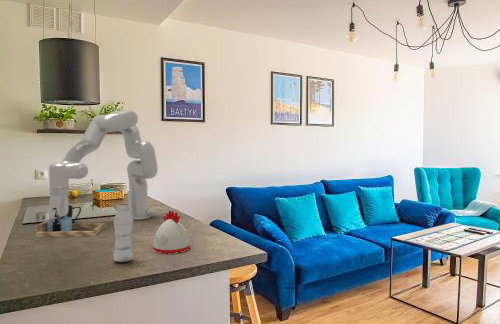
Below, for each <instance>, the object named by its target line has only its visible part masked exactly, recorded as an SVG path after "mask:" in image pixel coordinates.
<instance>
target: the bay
mask: <svg viewBox="0 0 500 324" xmlns="http://www.w3.org/2000/svg"><path fill="white" fill-rule="evenodd" d="M106 228H107V223H106V222H100V223H98V222H97V223H93V222H92V223H72V231H57V232H48V230H47V220H45V221H42V222H41V223H39V224H37V231H36V232H35V237H36V238H61V237H63V238H64V237H66V238H69V237H72V238H73V237H76V238H77V237H96V236H97V235H99V234H100V233H102V231H104V230H105V229H106ZM73 229H75V230H73ZM76 229H92V230H76Z"/></svg>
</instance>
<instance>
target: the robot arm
mask: <svg viewBox="0 0 500 324" xmlns="http://www.w3.org/2000/svg"><path fill="white" fill-rule="evenodd" d="M138 120H139V117H138V115H137V113H136V112H135V111H133V110H130V109H126V110H125V109H124V110H121V109H120V110H113V111H110V112H109V113H108V114H99V115H95V116H94V117H93V118H92V119H91V121H90V123H89V125H88V127H87V128H86V130H85V132H84V134H83V135H82V137H81V139H80V140H79V141H78V142H77V143H76V144H75V145H73V146H72V147H71V148H70V149H69V151H68V152H66V154H65V156H64V158H63V159H62V161H61V162H60V163H57V162H56V163H52V164H50V165H49V167H48V173H49V174H48V177H49V181H48V182H49V202H48V218H49V219H51V220H52V225H53V232H57V231H61V224H60V218H61V217H67V214H68V205H69V197H68V196H69V194H70V193H69V192H70V190H69V187H70V186H69V181H70V179H71V180H73V179H75V180H81V179H83V178H86V177H87V175H88V173H89V169H88V167H87V164H84V163H82V162H81V161H82V160H83V158H85V157H86V156H87V155H89V154H91V153H93V152H95V151H96V150H98V149H99V147H100V146H101V143H102V142H103V140H104V138H105V137H106V135H107V133H114V132H121V134H122V137H123V142H124V147H125V151H126V155H127V156H128V158H131V159H134V160H132V161H130V162H129V163H128V164H127V167H126V171H127V177H128V187H129V188H128V189H129V190H128V191H129V192H128V199H129V201H128V204H129V210H128V212H129V213H130V214H131V215H132V217H133V221H140V220H147V219H150V218H151V215H154V216H155V215H156V210H149V209H150V208H148V182H147V180H148V179H154V178H155V177H156V176H157V173H158V163H157V157H156V151H155V147H154V146H153V144H152V143H151V142H150V141H147V140H142V139H141V135H140V130H139V129H138V126H137V123H138ZM55 216H58V217H55ZM57 219H58V221H57Z"/></svg>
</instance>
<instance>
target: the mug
mask: <svg viewBox="0 0 500 324" xmlns="http://www.w3.org/2000/svg"><path fill="white" fill-rule="evenodd" d="M74 209H79V210H78V213H77V215H76V216H75V218H74V219H73V220H72V224H75V222H76V220H77V219H78V217H79V216H80V214H81V212H82V208H81V206H75V207H73V205H69V204H68V214H67V217H72V218H73V212H74V211H73V210H74ZM55 217H58V216H55Z"/></svg>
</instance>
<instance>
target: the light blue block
mask: <svg viewBox="0 0 500 324" xmlns="http://www.w3.org/2000/svg"><path fill="white" fill-rule="evenodd" d="M72 219H73V216H72V217H61V218H60V224H61V231H73V229H72V224H73V223H72V221H73V220H72ZM46 221H47V230H48V232H53V225H52V220H51V218H49V219H47V220H46ZM57 221H58V219H57Z"/></svg>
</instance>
